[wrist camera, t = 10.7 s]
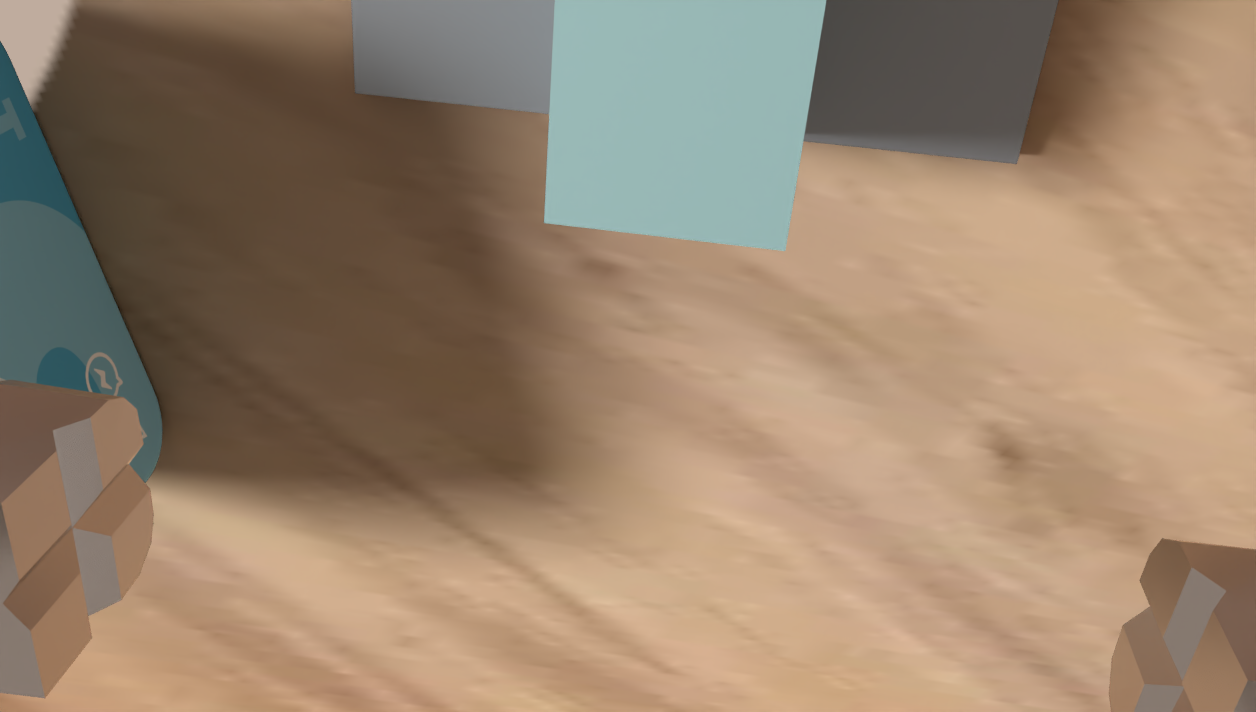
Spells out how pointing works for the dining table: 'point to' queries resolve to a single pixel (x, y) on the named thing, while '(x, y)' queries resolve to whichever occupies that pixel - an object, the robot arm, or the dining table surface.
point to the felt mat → (842, 86)
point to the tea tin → (680, 116)
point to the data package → (58, 282)
